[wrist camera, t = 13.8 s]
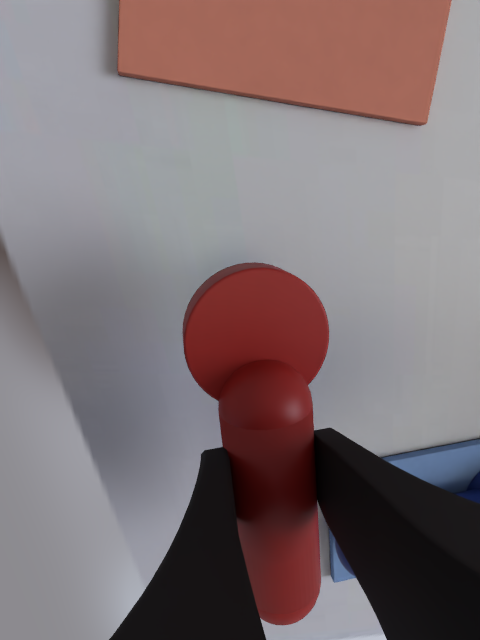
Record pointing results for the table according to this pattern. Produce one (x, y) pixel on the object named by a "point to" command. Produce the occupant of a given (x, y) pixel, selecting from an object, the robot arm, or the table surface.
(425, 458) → the blue mat
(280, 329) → the red spoon
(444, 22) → the mat
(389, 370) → the table surface
